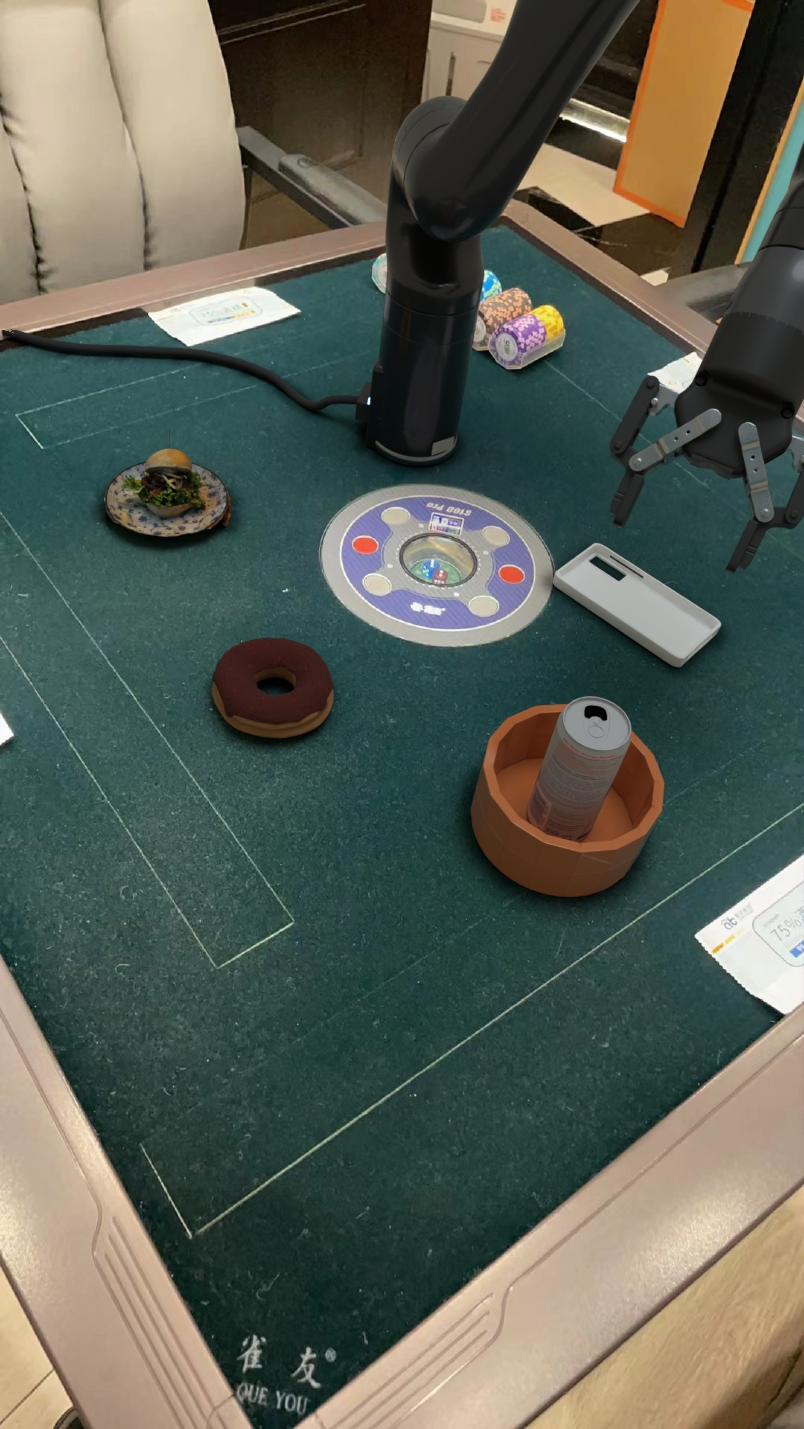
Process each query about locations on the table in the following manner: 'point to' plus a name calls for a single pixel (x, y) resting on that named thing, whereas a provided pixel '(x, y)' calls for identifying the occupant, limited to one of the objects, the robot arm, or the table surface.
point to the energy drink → (579, 768)
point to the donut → (267, 711)
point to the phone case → (638, 605)
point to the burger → (167, 496)
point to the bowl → (549, 857)
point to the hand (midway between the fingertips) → (672, 548)
